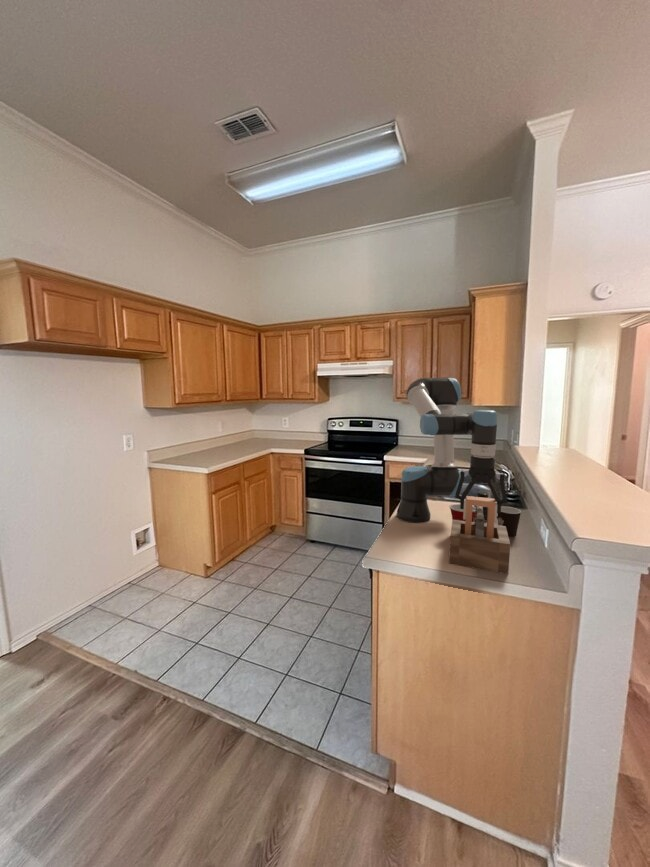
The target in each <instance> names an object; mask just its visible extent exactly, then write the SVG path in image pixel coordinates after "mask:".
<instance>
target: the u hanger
mask: <svg viewBox="0 0 650 867" xmlns="http://www.w3.org/2000/svg"><path fill="white" fill-rule="evenodd" d="M465 499H466V518H465V534H466V535H471V524H472V506H473V507H474V506H482V507H488V512H487V520H486V524H487V530H486V536H487V538H493V535H494V525H495V523H494V518H495V502H496V499H495V498H491V497H488V498H482V497H477V496H472V495H470V496H469V495H467V496H466V498H465Z"/></svg>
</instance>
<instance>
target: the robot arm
mask: <svg viewBox="0 0 650 867" xmlns="http://www.w3.org/2000/svg"><path fill="white" fill-rule="evenodd" d="M405 396H406V399H407V401H408V403H409V404H410V405H411V406H413V407H414V408H415V410H416V412H417V414H418V415H419V417H420V419H419V429H420V432H421V434H423V435H424V436H425V435H426V436H427V435H429V436H433V446H434V447H433V448H434V449H433V450H434V452H433V456H434V462H433V463H432V464H431V466H430V469H429V468H428V467H427V466H423V465H421V466H420V465H417V466H416V465H415V466H409V467H406V468H404V469H403V470H402V472H401V479H400V481H401V482H400V483H401V484H400V485H401V486H400V490H401V491H400V502H399V504H398V507H397V510H396V518H397V519H399V520H401V521H404V522H405V523H414V524H421V523H426V522H429V521H430V520H431V511H430V508H429V504H428V496H431V497H432V496H437V497H438V496H447V497H450V496H454V497H455V499H458V500H460V503H459V504H460V508H461V509H464V513H463V519H465V518H466V496H469V493H470V492H471V490H472V488H473V487H474V485H475V484H485V485H486V484H487V485H488V487H489V490H491V493H492V495H493V498H494V499H495V518H494V524H497V522H498V519H497V517H498V514H497V513H500V512H501V507H502V505H503V504H508V497H507V492H506V488H505V487H506V486H505V482H504V479H505V473H504V472H500V473H499V472H496V471H495V465H496V463H495V462H496V458H495V456H496V448H497V446H496V445H497V444H496V443H497V430H498V429H497V427H498V413H497V412H496V411H495V410H492V409H491V410H490V409H489V410H488V409H476V410H474V411H473V412H471V413H469V412H468V413H459V414H457V413H454V410H455V409H456V407H457V406H458V405H457V404H458V403H460V402H461V399H462V388H461V383H460V382H459V380H457V379H456V378H454V377H422V378H419V379H416V380H414V381H413V382H411V383H410V384H409V386H408V387H407V389H406V393H405ZM454 436H471V443H470V445H471V446H470V454H471V456H470V466H469V469H467V470H464V469H461V470H460V469H459V466H458V465H457V464H456V463H455V443H454V442H455V439H454ZM468 475H469V476H470V478H471V479H470V481H469V483H468V484H467V485H466V488H465V489H464V491H463V492H462V494H461V491H462V488H463V485H464V482H465V478H466V477H467V476H468ZM495 477H496V479H497V480H498V482H499V488H500V492H501V498H500V496H499V494H498V492H497V490H496V488H495V486H494V484H493V482H492V480H493V479H494V478H495Z"/></svg>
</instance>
